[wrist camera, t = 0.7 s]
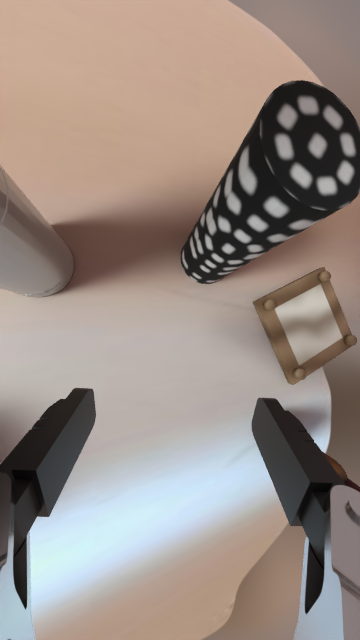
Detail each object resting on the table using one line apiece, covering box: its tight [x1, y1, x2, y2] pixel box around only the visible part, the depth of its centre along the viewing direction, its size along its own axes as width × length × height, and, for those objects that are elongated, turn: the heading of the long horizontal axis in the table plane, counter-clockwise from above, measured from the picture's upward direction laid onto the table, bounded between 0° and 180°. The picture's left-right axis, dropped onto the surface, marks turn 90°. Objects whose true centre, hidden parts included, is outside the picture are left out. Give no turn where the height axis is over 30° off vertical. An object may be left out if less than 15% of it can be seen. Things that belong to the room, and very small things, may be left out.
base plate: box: [253, 267, 357, 385], centre depth 34 cm, size 16×16×2 cm
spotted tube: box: [181, 80, 360, 284], centre depth 22 cm, size 8×8×20 cm
